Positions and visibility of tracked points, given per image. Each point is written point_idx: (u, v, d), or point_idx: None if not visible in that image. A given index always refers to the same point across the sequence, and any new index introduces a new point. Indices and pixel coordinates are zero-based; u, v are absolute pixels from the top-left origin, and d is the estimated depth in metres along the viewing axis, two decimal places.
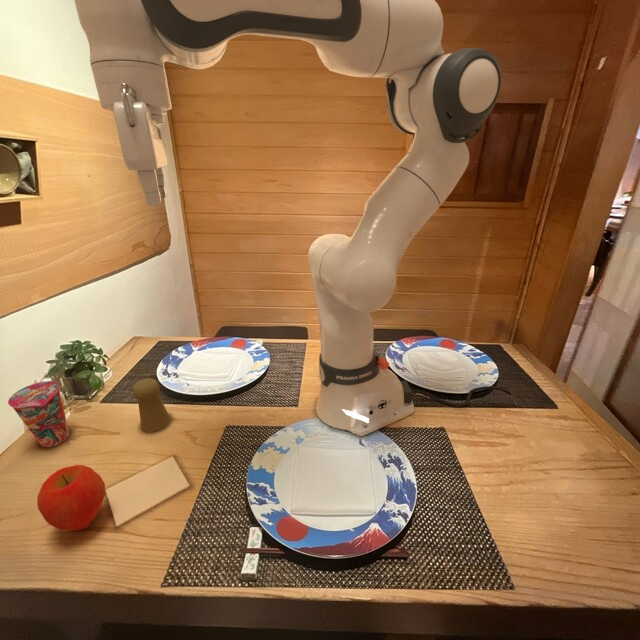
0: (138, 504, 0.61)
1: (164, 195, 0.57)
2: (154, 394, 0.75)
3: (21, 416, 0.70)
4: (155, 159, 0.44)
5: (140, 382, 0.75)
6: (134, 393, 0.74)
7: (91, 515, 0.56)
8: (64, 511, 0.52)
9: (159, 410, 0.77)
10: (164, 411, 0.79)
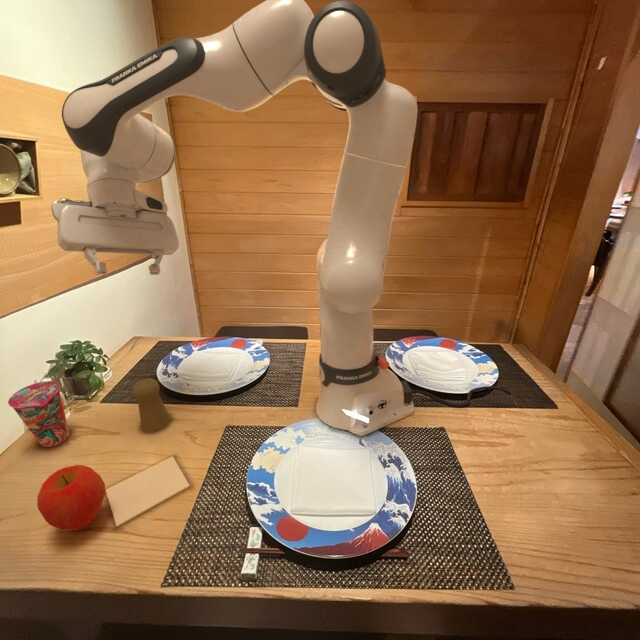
0: (138, 504, 0.61)
1: (152, 270, 0.69)
2: (154, 394, 0.75)
3: (21, 416, 0.70)
4: (65, 237, 0.59)
5: (140, 382, 0.75)
6: (134, 393, 0.74)
7: (91, 515, 0.56)
8: (64, 511, 0.52)
9: (159, 410, 0.77)
10: (164, 411, 0.79)
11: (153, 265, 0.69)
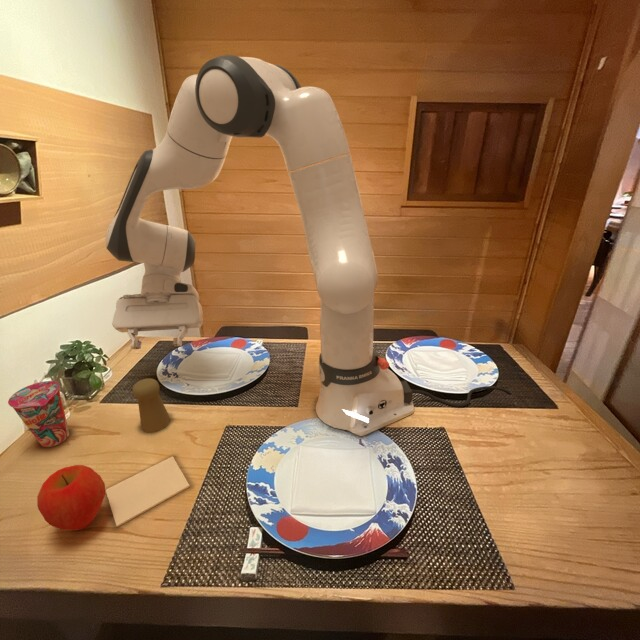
0: (138, 504, 0.61)
1: (173, 343, 0.83)
2: (154, 394, 0.75)
3: (21, 416, 0.70)
4: (113, 323, 0.83)
5: (140, 382, 0.75)
6: (134, 393, 0.74)
7: (91, 515, 0.56)
8: (64, 511, 0.52)
9: (159, 410, 0.77)
10: (164, 411, 0.79)
11: (174, 339, 0.83)
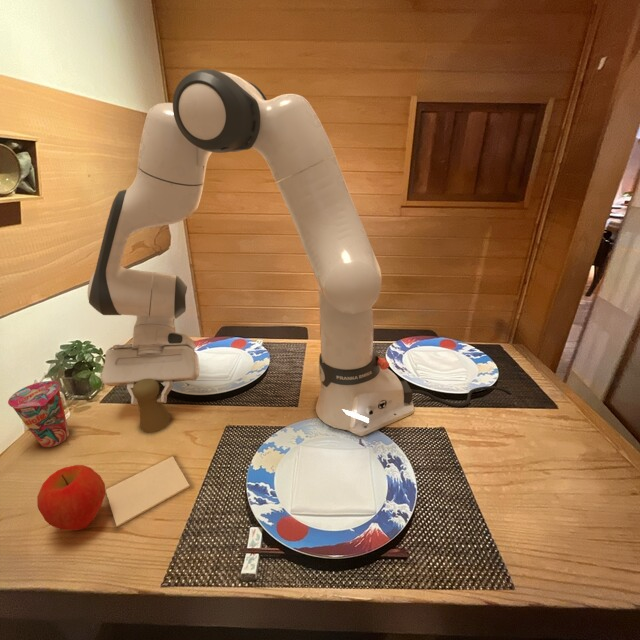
0: (138, 504, 0.61)
1: (157, 400, 0.77)
2: (154, 394, 0.75)
3: (21, 416, 0.70)
4: (102, 378, 0.77)
5: (140, 382, 0.75)
6: (134, 393, 0.74)
7: (91, 515, 0.56)
8: (64, 511, 0.52)
9: (159, 410, 0.77)
10: (164, 411, 0.79)
11: (158, 395, 0.77)
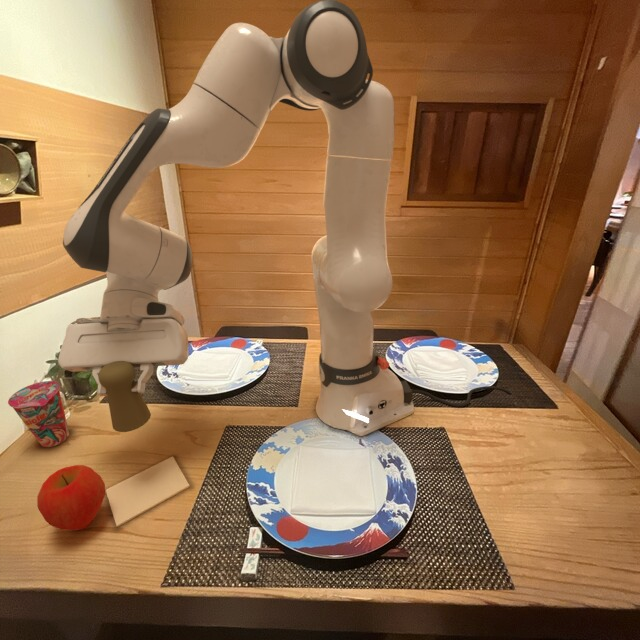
0: (138, 504, 0.61)
1: (131, 389, 0.58)
2: (127, 381, 0.57)
3: (21, 416, 0.70)
4: (59, 361, 0.58)
5: (109, 365, 0.57)
6: (100, 379, 0.55)
7: (91, 515, 0.56)
8: (64, 511, 0.52)
9: (135, 403, 0.59)
10: (142, 404, 0.60)
11: (133, 383, 0.58)
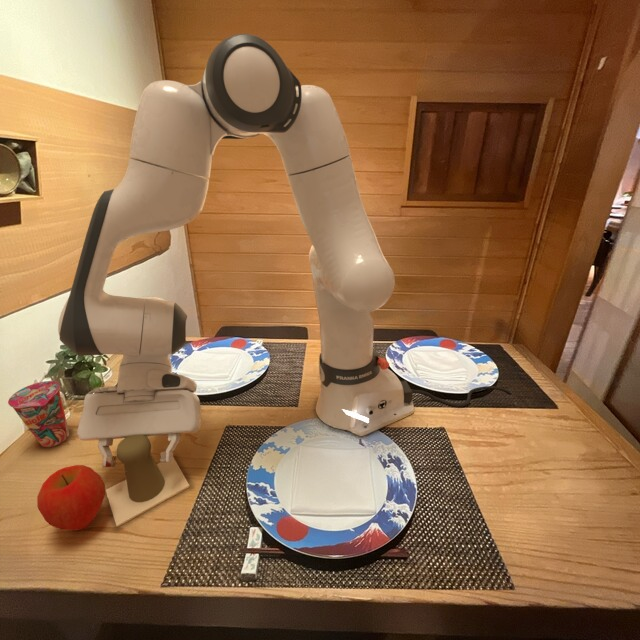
0: (138, 504, 0.61)
1: None
2: (144, 456, 0.59)
3: (21, 416, 0.70)
4: (78, 433, 0.61)
5: (126, 440, 0.59)
6: (118, 456, 0.58)
7: (91, 515, 0.56)
8: (64, 511, 0.52)
9: (150, 474, 0.61)
10: (157, 474, 0.63)
11: (162, 454, 0.61)
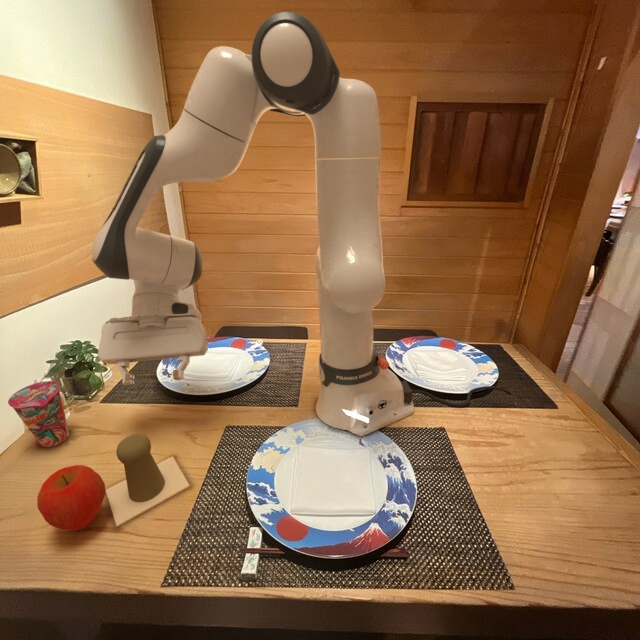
0: (138, 504, 0.61)
1: None
2: (144, 456, 0.59)
3: (21, 416, 0.70)
4: (99, 355, 0.68)
5: (126, 440, 0.59)
6: (118, 456, 0.58)
7: (91, 515, 0.56)
8: (64, 511, 0.52)
9: (150, 474, 0.61)
10: (157, 474, 0.63)
11: (174, 371, 0.69)
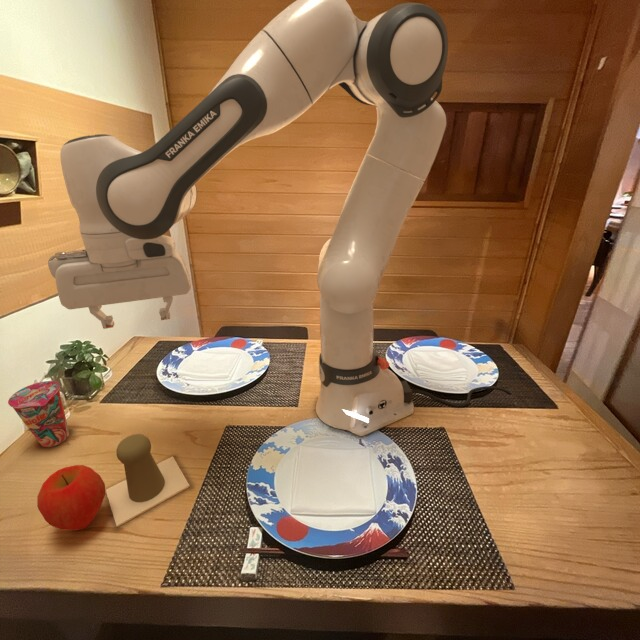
0: (138, 504, 0.61)
1: (161, 318, 0.65)
2: (144, 456, 0.59)
3: (21, 416, 0.70)
4: (63, 304, 0.58)
5: (126, 440, 0.59)
6: (118, 456, 0.58)
7: (91, 515, 0.56)
8: (64, 511, 0.52)
9: (150, 474, 0.61)
10: (157, 474, 0.63)
11: (161, 313, 0.64)
